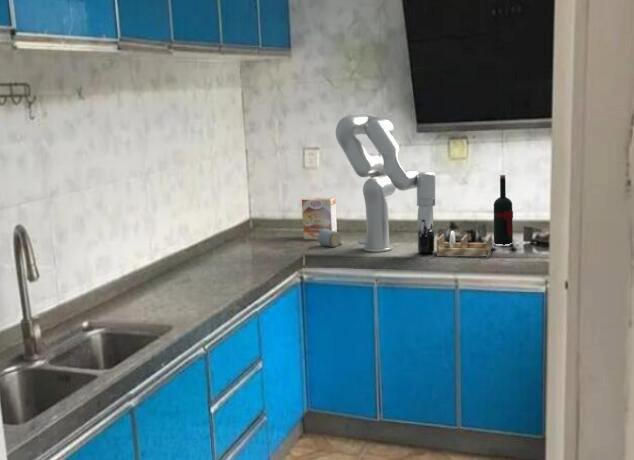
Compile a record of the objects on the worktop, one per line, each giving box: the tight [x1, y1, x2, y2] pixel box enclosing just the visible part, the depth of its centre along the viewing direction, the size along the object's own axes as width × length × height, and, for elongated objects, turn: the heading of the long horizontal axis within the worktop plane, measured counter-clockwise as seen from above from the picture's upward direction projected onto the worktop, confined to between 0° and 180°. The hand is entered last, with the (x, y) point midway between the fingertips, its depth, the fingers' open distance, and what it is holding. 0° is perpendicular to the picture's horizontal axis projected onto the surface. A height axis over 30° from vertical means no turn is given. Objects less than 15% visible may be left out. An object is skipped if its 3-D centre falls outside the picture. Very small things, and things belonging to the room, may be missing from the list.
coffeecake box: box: [301, 197, 338, 240], centre depth 342 cm, size 15×7×20 cm, turn 67°
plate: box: [449, 230, 456, 248], centre depth 296 cm, size 1×9×9 cm, turn 160°
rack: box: [436, 233, 493, 257], centre depth 294 cm, size 20×12×7 cm, turn 69°
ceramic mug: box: [318, 229, 344, 248], centre depth 325 cm, size 11×8×8 cm
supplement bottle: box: [417, 224, 435, 254], centre depth 299 cm, size 7×7×12 cm
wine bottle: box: [493, 174, 514, 245], centre depth 304 cm, size 8×10×30 cm
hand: (426, 243), depth 299 cm, fingers closed on supplement bottle, 6 cm apart
